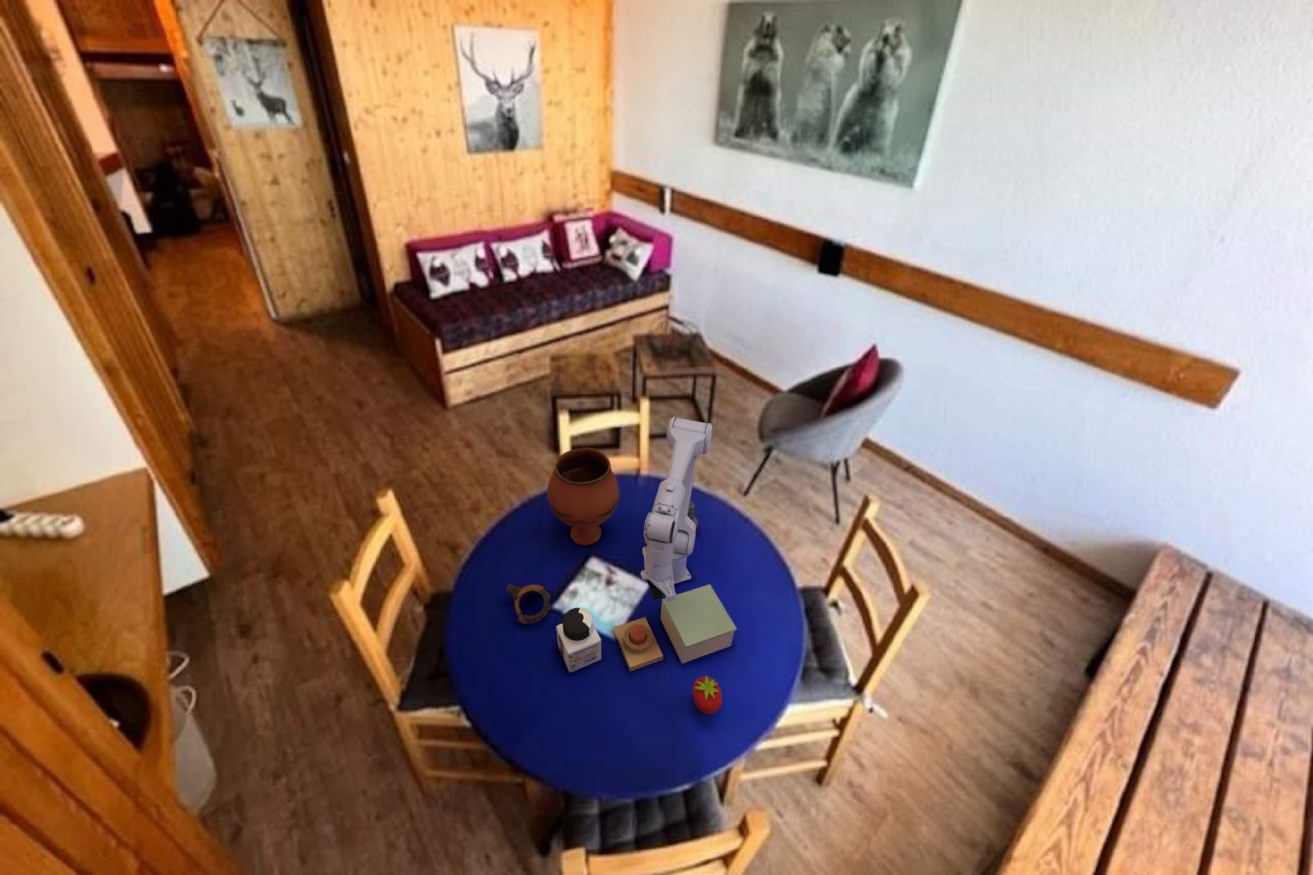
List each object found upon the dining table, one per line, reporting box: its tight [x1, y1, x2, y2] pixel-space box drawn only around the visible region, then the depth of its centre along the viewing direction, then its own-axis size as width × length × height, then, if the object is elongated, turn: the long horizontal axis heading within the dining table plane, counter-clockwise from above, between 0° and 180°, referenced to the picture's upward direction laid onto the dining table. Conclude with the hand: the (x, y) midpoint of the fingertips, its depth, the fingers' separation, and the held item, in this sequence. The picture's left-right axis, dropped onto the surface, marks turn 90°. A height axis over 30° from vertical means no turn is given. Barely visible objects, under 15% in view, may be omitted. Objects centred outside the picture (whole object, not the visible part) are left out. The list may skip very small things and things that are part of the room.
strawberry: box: [692, 674, 723, 715], centre depth 119 cm, size 6×8×10 cm
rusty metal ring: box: [505, 583, 552, 625], centre depth 138 cm, size 12×10×8 cm
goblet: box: [546, 447, 620, 546], centre depth 153 cm, size 19×19×25 cm
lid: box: [661, 583, 738, 648], centre depth 132 cm, size 13×13×1 cm
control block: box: [613, 616, 664, 672], centre depth 132 cm, size 11×8×4 cm
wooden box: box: [660, 602, 735, 664], centre depth 135 cm, size 13×13×7 cm
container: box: [555, 607, 602, 673], centre depth 127 cm, size 8×8×13 cm
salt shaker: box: [687, 499, 699, 528], centre depth 159 cm, size 6×6×12 cm
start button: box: [630, 626, 646, 644], centre depth 131 cm, size 4×4×2 cm
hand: (656, 596), depth 132 cm, fingers closed
